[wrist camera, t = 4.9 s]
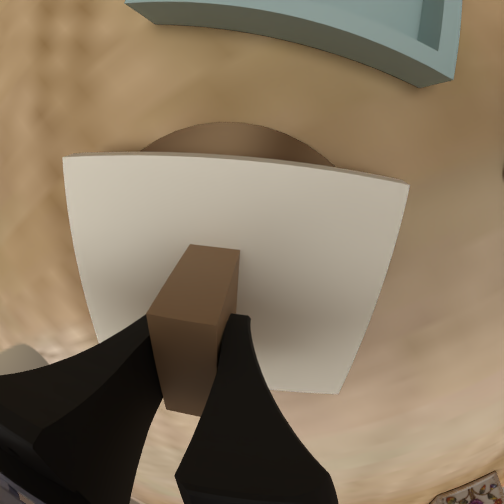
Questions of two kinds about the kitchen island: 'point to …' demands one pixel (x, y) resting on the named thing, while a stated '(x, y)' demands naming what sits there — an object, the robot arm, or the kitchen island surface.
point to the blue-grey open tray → (338, 29)
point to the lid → (233, 260)
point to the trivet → (237, 143)
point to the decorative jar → (475, 492)
